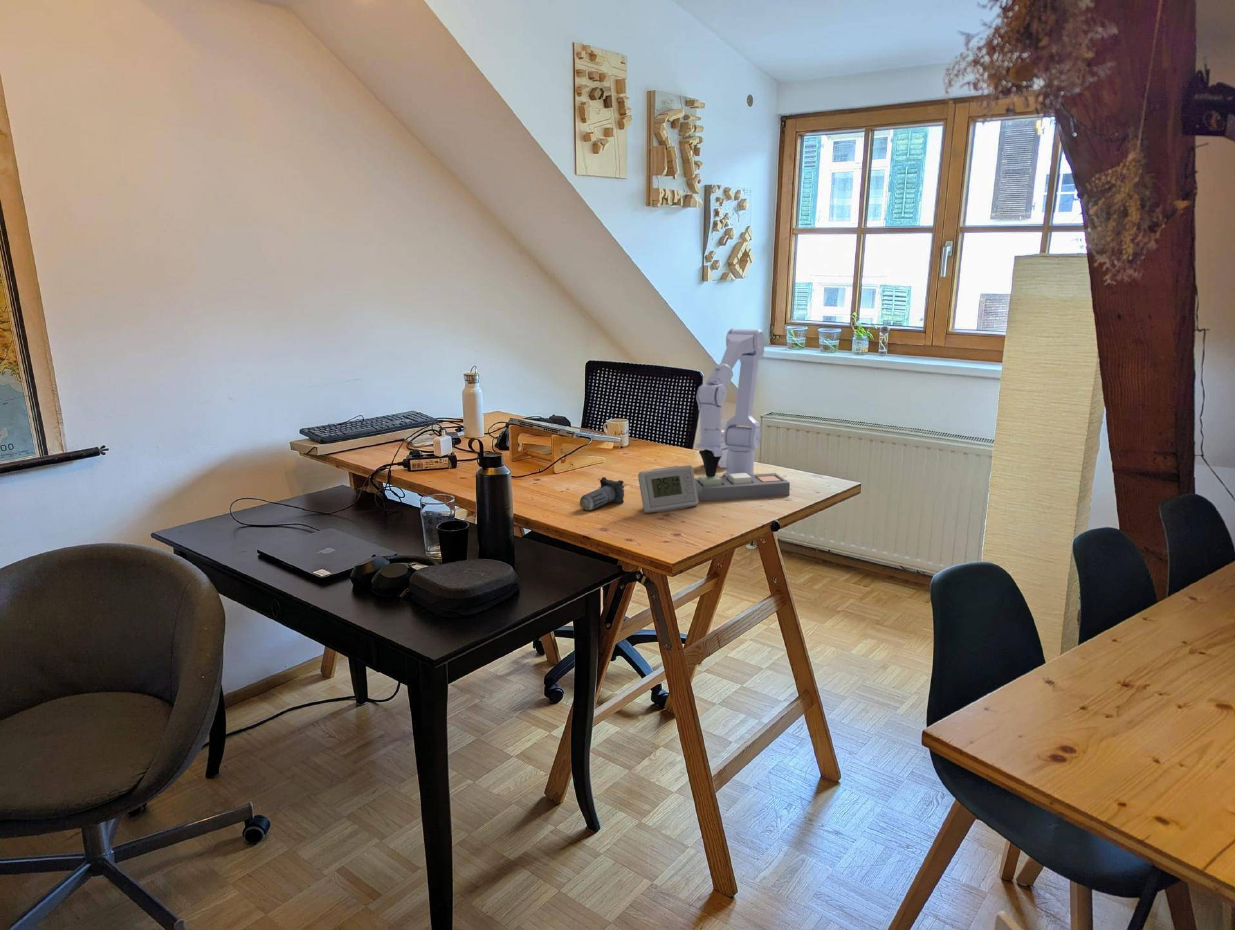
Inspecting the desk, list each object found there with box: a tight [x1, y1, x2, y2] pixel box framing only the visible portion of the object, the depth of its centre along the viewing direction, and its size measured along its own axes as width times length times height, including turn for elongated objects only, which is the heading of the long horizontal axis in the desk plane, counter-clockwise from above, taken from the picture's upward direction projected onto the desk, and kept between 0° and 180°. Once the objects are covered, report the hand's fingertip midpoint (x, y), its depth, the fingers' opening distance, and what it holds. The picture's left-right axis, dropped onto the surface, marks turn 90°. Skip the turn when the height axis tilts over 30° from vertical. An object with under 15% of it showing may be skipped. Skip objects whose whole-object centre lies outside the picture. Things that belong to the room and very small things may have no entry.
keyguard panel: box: [694, 472, 791, 502], centre depth 221 cm, size 11×25×4 cm, turn 100°
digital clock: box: [637, 464, 699, 514], centre depth 208 cm, size 16×9×11 cm, turn 102°
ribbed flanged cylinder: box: [579, 476, 625, 511], centre depth 211 cm, size 9×8×12 cm
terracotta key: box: [757, 476, 781, 482], centre depth 223 cm, size 5×5×2 cm
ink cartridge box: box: [717, 419, 729, 469], centre depth 250 cm, size 9×5×15 cm, turn 84°
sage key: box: [698, 474, 722, 486], centre depth 219 cm, size 5×5×2 cm
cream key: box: [728, 473, 751, 484], centre depth 221 cm, size 5×5×2 cm
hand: (710, 476), depth 219 cm, fingers closed
